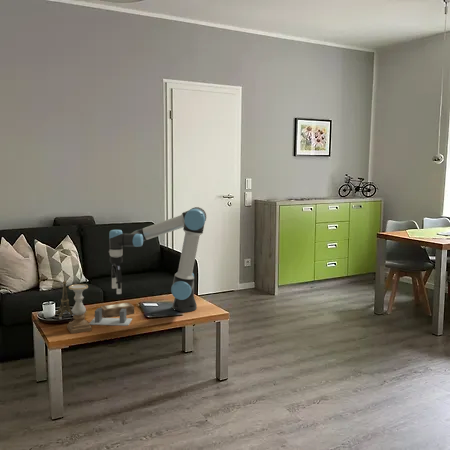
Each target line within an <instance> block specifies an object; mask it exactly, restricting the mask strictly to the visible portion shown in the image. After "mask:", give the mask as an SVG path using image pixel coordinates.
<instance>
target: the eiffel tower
mask: <svg viewBox="0 0 450 450" xmlns="http://www.w3.org/2000/svg"><path fill="white" fill-rule="evenodd" d="M67 284H68V283H67V281H66V277H65V276H64V277H63V281H62V296H61V299H60V305H59V307H58V309H57V310H56V312H55V314H60V315H59V316H58V318H59V317H62V316H64V313H65V312H67V313H68V312H70V314H69V315H70V316H71V315H72V314H73V313H72V307H71V306H70V303H69V302H70V299H69V298H68V297H69V295H68V291H67Z"/></svg>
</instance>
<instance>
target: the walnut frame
mask: <svg viewBox="0 0 450 450" xmlns="http://www.w3.org/2000/svg"><path fill="white" fill-rule="evenodd" d="M99 308H102V318H115V317H120V311H121V309H126V316H127V315H133V314H135V305H133V304H132V303H131V302H121V303H115V304H114V303H113V304H106V305H100V306H99Z"/></svg>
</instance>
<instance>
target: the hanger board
mask: <svg viewBox="0 0 450 450" xmlns="http://www.w3.org/2000/svg"><path fill="white" fill-rule="evenodd" d="M132 320H133V318H130V317H129V318H127V315H126V309H121V311H120V316H119V317H108V318H104V317H103V316H102V308H100V307H98V308H96V309H95V310H94V318H93V319H92V320H91V321H90V322H88V323H89V324H90V326H127V327H128V326H129V325H130V324H131V323H132Z"/></svg>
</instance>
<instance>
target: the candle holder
mask: <svg viewBox="0 0 450 450" xmlns="http://www.w3.org/2000/svg"><path fill="white" fill-rule="evenodd" d="M88 288H89V285H88V284H84V283H76V284H71V285H69V286H68V290H70V291H73V293H74V294H75V295H74V297H73V300H74V302H75V303H74V304H73V307H71V310H72V313H73V314H75V315H74V316H73V318H72V319H73V320H72V321H68V324H67V325H66V328H67V330H68V331H69V332H70V334H72V335H73V334H80V333H85V332H91V331H92V330H93V329H92V325H90V324H89V323H90V322H89V321H88V320H86V315H85V313H86V312H87V309H86V306H85V305H84V303H83V300H84V298H85V297H84V296H83V292H84V291H85V290H87V289H88Z"/></svg>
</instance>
